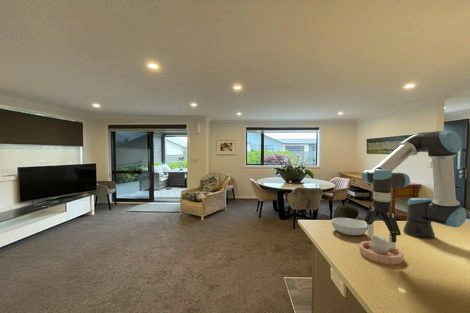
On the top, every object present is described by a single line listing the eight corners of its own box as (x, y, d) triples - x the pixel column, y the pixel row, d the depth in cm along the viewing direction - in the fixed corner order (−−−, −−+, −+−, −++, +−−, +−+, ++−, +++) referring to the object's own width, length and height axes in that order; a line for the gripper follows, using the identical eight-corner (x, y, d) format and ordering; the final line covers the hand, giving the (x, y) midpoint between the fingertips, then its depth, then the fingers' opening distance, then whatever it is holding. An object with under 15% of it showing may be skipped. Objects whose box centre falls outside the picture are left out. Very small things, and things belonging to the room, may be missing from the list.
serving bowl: (368, 231, 142) (368, 220, 142) (367, 242, 125) (367, 230, 124) (333, 225, 153) (333, 215, 153) (328, 234, 136) (328, 223, 136)
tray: (381, 246, 119) (382, 240, 119) (412, 263, 101) (412, 256, 101) (351, 248, 117) (351, 241, 117) (377, 265, 99) (377, 258, 99)
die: (391, 260, 103) (397, 241, 106) (373, 250, 104) (380, 231, 107) (379, 258, 111) (385, 241, 114) (363, 248, 112) (369, 231, 115)
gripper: (357, 195, 120) (356, 233, 121) (396, 206, 95) (395, 254, 96) (370, 195, 121) (368, 232, 121) (411, 206, 96) (410, 253, 97)
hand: (380, 242), depth 109 cm, fingers open, 13 cm apart
